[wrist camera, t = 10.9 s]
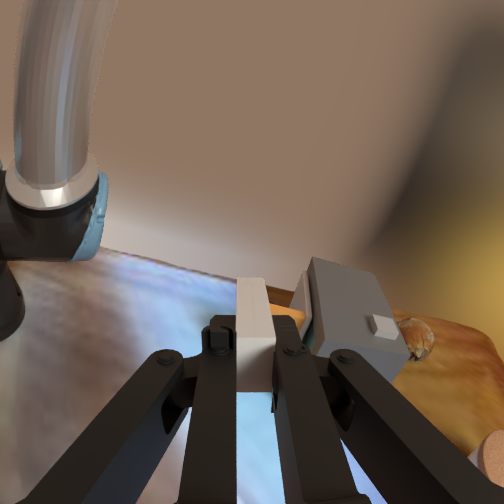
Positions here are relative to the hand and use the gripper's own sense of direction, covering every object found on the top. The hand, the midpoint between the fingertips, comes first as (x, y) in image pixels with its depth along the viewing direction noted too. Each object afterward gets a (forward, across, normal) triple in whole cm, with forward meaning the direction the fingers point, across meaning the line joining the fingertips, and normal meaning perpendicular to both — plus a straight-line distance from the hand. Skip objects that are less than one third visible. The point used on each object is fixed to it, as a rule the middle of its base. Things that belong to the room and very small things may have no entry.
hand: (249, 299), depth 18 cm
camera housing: (+23, +12, -22) cm, 34 cm away
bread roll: (+32, +34, -26) cm, 53 cm away
